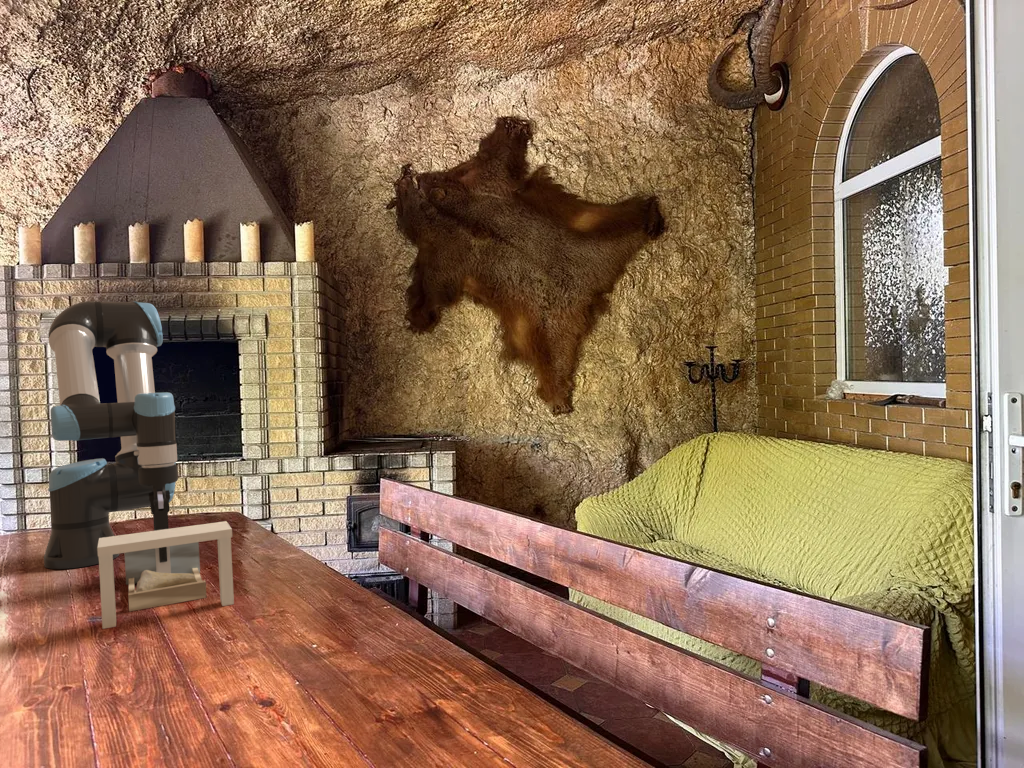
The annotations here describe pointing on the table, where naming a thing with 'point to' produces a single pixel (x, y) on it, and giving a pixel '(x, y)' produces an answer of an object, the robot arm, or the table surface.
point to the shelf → (158, 540)
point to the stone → (162, 580)
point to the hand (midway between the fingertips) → (163, 573)
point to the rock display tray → (181, 562)
